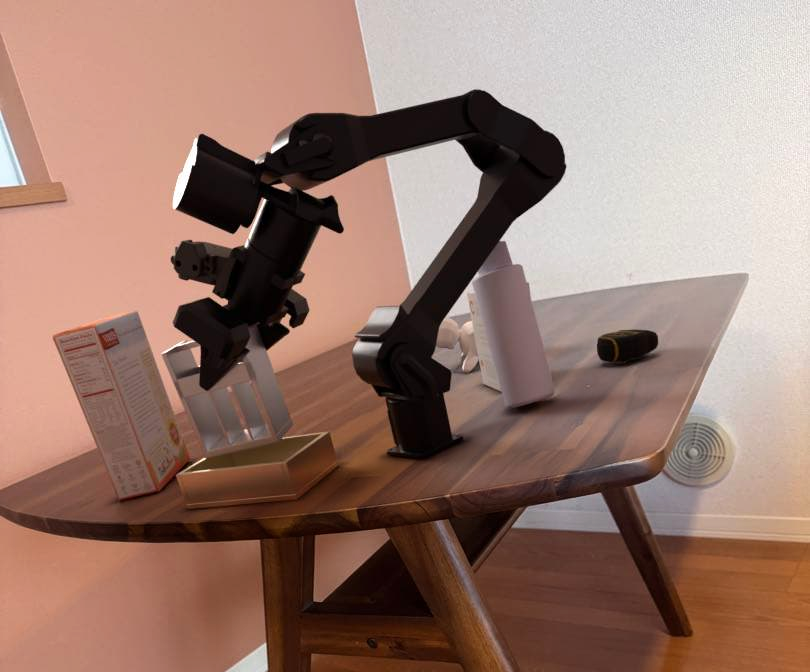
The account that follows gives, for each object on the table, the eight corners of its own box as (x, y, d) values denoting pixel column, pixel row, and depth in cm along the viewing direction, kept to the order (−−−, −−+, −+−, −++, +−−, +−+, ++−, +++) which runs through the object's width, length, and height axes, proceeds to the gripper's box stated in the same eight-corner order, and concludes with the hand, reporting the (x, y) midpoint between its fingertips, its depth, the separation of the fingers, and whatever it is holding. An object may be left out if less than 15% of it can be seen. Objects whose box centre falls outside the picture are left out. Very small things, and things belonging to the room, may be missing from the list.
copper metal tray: (338, 465, 88) (329, 431, 87) (296, 499, 80) (286, 462, 78) (236, 476, 94) (226, 444, 92) (187, 509, 85) (175, 474, 84)
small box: (545, 381, 104) (529, 281, 99) (501, 393, 103) (483, 293, 98) (524, 373, 111) (508, 280, 106) (482, 384, 110) (464, 291, 105)
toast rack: (293, 425, 87) (255, 320, 82) (278, 442, 83) (237, 332, 78) (223, 441, 90) (182, 341, 85) (205, 459, 85) (160, 353, 80)
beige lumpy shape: (511, 371, 129) (423, 357, 128) (522, 319, 126) (431, 304, 125) (518, 381, 121) (423, 365, 120) (529, 326, 118) (433, 310, 117)
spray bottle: (549, 398, 88) (497, 202, 85) (500, 412, 91) (448, 223, 87) (561, 392, 93) (513, 208, 90) (514, 405, 96) (466, 227, 93)
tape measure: (662, 354, 102) (660, 326, 101) (623, 368, 100) (620, 339, 98) (625, 353, 108) (622, 326, 107) (588, 366, 106) (584, 339, 104)
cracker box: (152, 468, 108) (97, 318, 101) (192, 460, 108) (140, 308, 100) (114, 502, 96) (48, 333, 88) (160, 493, 95) (97, 321, 87)
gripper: (251, 199, 83) (201, 322, 91) (153, 210, 67) (102, 358, 75) (336, 258, 83) (278, 376, 91) (258, 283, 67) (196, 423, 75)
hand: (218, 381), depth 83 cm, fingers closed on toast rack, 6 cm apart
